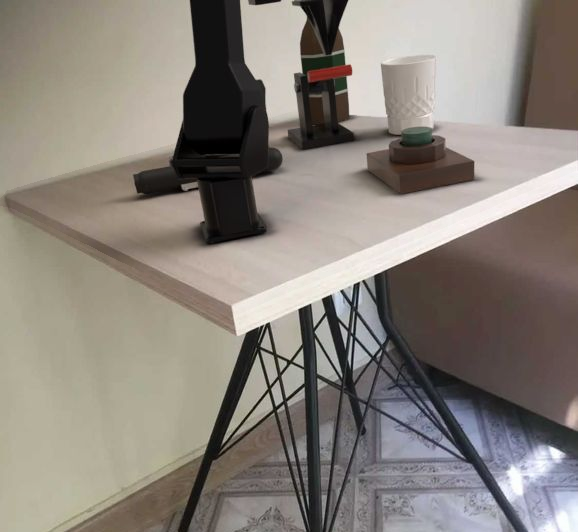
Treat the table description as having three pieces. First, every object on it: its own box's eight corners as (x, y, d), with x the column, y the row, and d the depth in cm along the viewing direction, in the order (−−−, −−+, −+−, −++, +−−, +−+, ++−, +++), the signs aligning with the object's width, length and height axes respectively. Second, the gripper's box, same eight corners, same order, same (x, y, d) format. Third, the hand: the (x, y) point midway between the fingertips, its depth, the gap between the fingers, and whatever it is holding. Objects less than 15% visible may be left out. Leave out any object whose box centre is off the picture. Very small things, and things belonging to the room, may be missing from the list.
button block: (474, 179, 80) (474, 144, 78) (400, 194, 79) (398, 159, 77) (433, 157, 90) (432, 126, 88) (367, 170, 89) (365, 138, 87)
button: (437, 145, 81) (436, 130, 81) (408, 150, 81) (407, 135, 80) (425, 139, 85) (424, 124, 84) (397, 144, 84) (396, 130, 83)
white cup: (425, 136, 101) (423, 63, 96) (376, 136, 105) (371, 65, 100) (445, 123, 106) (443, 53, 101) (397, 123, 110) (394, 56, 105)
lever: (353, 78, 95) (350, 59, 94) (311, 85, 94) (308, 66, 93) (332, 91, 106) (330, 74, 106) (294, 97, 106) (292, 81, 105)
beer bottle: (357, 113, 121) (345, -43, 110) (342, 124, 115) (327, -41, 104) (316, 115, 125) (300, -37, 113) (299, 125, 119) (280, -34, 107)
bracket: (354, 140, 104) (348, 71, 100) (302, 149, 103) (294, 80, 99) (335, 128, 113) (330, 64, 108) (288, 137, 112) (280, 73, 107)
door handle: (129, 157, 102) (132, 176, 88) (261, 133, 105) (285, 148, 91) (134, 180, 104) (138, 202, 89) (264, 156, 107) (288, 173, 92)
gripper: (367, -85, 94) (374, 40, 102) (232, -66, 92) (250, 60, 99) (395, -93, 85) (401, 45, 92) (245, -72, 82) (264, 68, 90)
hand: (328, 54), depth 94 cm, fingers closed
